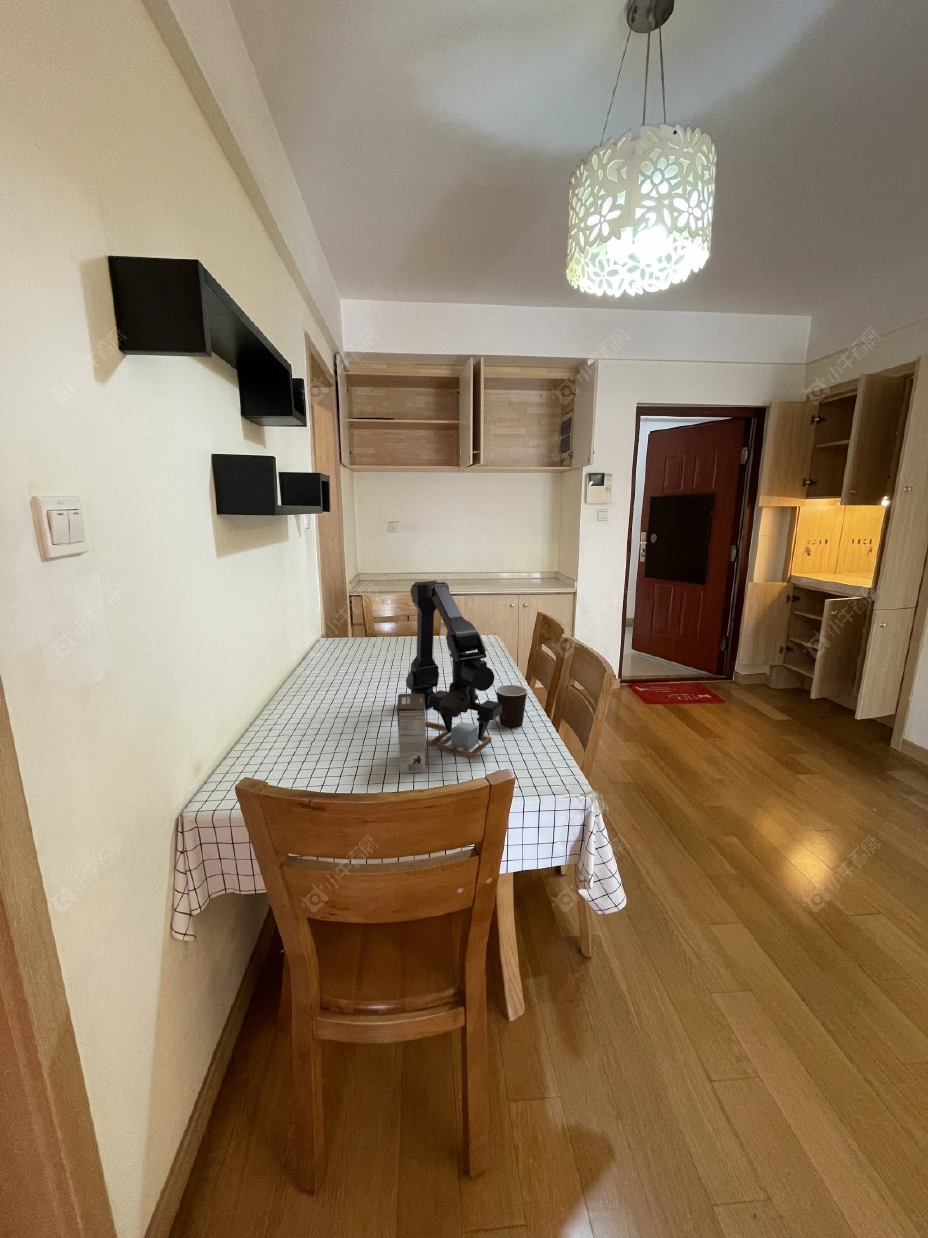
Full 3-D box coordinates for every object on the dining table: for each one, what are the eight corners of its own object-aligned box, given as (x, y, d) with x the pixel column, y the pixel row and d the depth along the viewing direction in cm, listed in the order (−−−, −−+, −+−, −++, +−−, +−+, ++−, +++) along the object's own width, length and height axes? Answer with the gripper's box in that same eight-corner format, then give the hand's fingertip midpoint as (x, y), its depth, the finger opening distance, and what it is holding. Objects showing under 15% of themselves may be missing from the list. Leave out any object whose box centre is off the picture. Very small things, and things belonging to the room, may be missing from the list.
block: (451, 746, 123) (451, 728, 122) (461, 739, 128) (461, 721, 126) (468, 751, 121) (467, 733, 120) (477, 743, 125) (477, 725, 124)
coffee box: (400, 755, 119) (398, 693, 116) (426, 753, 120) (424, 692, 116) (398, 774, 110) (396, 708, 107) (427, 772, 111) (425, 707, 107)
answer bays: (398, 738, 128) (398, 733, 128) (421, 723, 137) (421, 718, 137) (471, 759, 117) (471, 753, 117) (491, 741, 126) (491, 736, 126)
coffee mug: (525, 731, 132) (525, 696, 129) (493, 728, 133) (494, 694, 131) (528, 714, 143) (529, 682, 141) (499, 712, 144) (499, 680, 142)
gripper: (414, 681, 118) (416, 740, 121) (481, 695, 109) (481, 758, 112) (439, 668, 128) (440, 723, 131) (503, 680, 118) (502, 739, 122)
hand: (464, 735), depth 124 cm, fingers open, 9 cm apart
